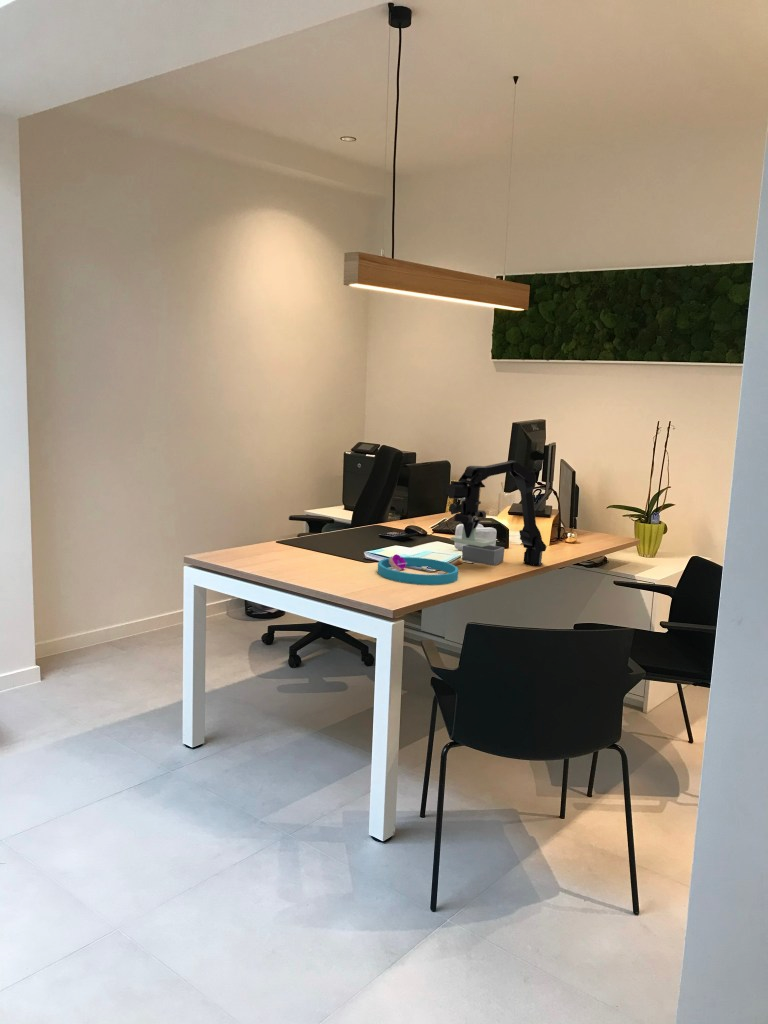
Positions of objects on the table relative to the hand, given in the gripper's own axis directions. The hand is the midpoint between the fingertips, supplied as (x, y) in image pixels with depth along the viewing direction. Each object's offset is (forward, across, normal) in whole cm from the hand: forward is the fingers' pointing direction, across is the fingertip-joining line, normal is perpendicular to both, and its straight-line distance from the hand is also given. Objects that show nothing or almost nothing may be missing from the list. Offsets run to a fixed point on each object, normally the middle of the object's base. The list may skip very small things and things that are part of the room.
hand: (468, 537), depth 325 cm
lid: (+3, -5, 0) cm, 6 cm away
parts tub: (+12, -17, 0) cm, 21 cm away
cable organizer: (+12, -32, -10) cm, 36 cm away
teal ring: (+13, +26, -8) cm, 30 cm away
